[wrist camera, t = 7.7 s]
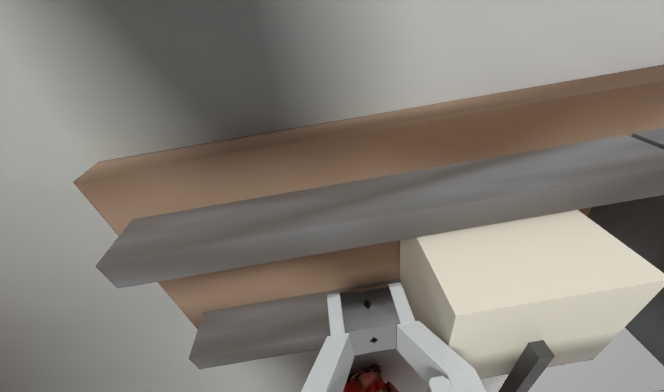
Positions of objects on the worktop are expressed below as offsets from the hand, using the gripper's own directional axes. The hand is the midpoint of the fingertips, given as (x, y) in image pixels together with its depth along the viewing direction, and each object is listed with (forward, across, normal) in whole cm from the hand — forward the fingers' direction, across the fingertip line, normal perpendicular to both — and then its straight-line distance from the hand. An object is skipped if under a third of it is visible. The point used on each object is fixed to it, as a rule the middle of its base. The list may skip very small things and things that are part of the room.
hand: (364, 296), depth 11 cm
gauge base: (+4, -2, 0) cm, 5 cm away
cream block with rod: (+2, -5, +1) cm, 6 cm away
